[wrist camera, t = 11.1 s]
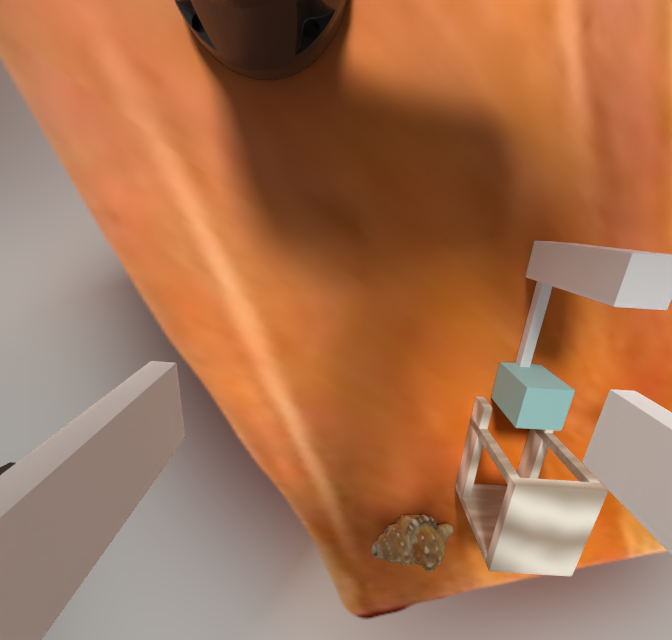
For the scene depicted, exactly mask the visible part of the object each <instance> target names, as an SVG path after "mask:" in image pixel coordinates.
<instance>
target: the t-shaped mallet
mask: <svg viewBox="0 0 672 640" xmlns="http://www.w3.org/2000/svg"><path fill="white" fill-rule="evenodd" d="M525 277H526V278H529V279H532V280H535V281H537V283H536V287H535V291H534V294H533V298H532V302H531V306H530V309H529V313H528V317H527V321H526V324H525V328H524V332H523V336H522V340H521V343H520V347H519V351H518V355H517V358H516V362H515V363H508V362H500V363H499V367H498V371H497V375H496V379H495V383H494V387H493V391H492V395H491V398H492V399H493V401H494V402H495V403H496V404H497V406H498V407H499V408H500V409H501V411H502V412H503V413H504V414H505V415H506V417H507V418H508V419H509V420H510V422H511V423H512V424H513V425H514V426H515V428H526V429H542V430H558V431H562V428H563V425H564V422H565V419H566V416H567V413H568V410H569V407H570V404H571V401H572V398H573V396H574V393H575V390H574V389H572V388H571V387H570V386H568V385H567V384H566V383H564V382H563V381H562V380H560V379H559V378H558V377H556V376H555V375H554V374H553V373H551V372H550V371H549V370H547V369H546V368H545V367H543V366H542V365H540V364H531V361H532V358H533V354H534V350H535V347H536V343H537V340H538V336H539V333H540V329H541V326H542V322H543V319H544V315H545V312H546V308H547V305H548V301H549V298H550V294H551V290H552V287H556V288H559V289H562V290H565V291H568V292H571V293H574V294H577V295H580V296H583V297H586V298H589V299H592V300H595V301H598V302H601V303H604V304H607V305H610V306H612V307H624V308H640V309H656V310H667V308H668V306H669V304H670V301H671V299H672V254H665V253H656V252H648V251H639V250H630V249H622V248H613V247H605V246H596V245H588V244H579V243H569V242H553V241H537V240H535V241H534V245H533V249H532V253H531V257H530V261H529V265H528V269H527V273H526V276H525Z"/></svg>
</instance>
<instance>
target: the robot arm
mask: <svg viewBox="0 0 672 640" xmlns="http://www.w3.org/2000/svg"><path fill="white" fill-rule="evenodd" d="M346 2H347V0H175V3H176V5H177V7H178V9H179V11H180V13H181V15H182V16H183V18H184V20H185V22H186V23H187V25H188V26H189V28H190V29H191V30H192V32H193V33H194V34H195V36H196V37H197V38H198V39H199V41H200V42H201V43H202V44H203V46H204V47H205V48H206V49H207V50H208V51H209V52H210V53H211V54H212V56H214V57H215V58H216V59H217V60H218V61H219V62H221V63H222V64H223V65H225V66H226V67H228V68H229V69H231V70H233V71H235V72H237V73H239V74H241V75H244V76H247V77H250V78H255V79H262V80H272V79H280V78H284V77H288V76H291V75H293V74H296V73H298V72H300V71H301V70H303V69H305V68H306V67H308V66H309V65H310V64H312V63H313V62H314V61H315V60H316V59H317V58H318V57H319V56H320V55H321V54H322V53H323V52H324V50H325V49H326V48H327V47H328V45H329V44H330V42H331V41H332V39H333V37H334V35H335V34H336V31H337V29H338V27H339V25H340V22H341V20H342V17H343V14H344V10H345V7H346ZM184 439H185V434H184V425H183V417H182V408H181V399H180V391H179V382H178V373H177V365H176V363H173V362H156V361H151V362H149V363H148V364H147V365H145V366H144V367H143V368H141V369H140V370H139V371H137V372H136V373H135V374H133V375H132V376H131V377H129V378H128V379H127V380H125V381H124V382H123V383H122V384H120V385H119V386H118V387H116V388H115V389H114V390H113V391H111V392H110V393H108V394H107V395H106V396H104V397H103V398H102V399H100V400H99V401H98V402H96V403H95V404H94V405H92V406H91V407H90V408H89V409H87V410H86V411H85V412H83V413H82V414H81V415H79V416H78V417H77V418H75V419H74V420H73V421H71V422H70V423H69V424H67V425H66V426H65V427H63V428H62V429H61V430H59V431H58V432H57V433H55V434H54V435H53V436H51V437H50V438H49V439H47V440H46V441H45V442H44V443H42V444H41V445H40V446H38V447H37V448H36V449H34V450H33V451H32V452H30V453H29V454H28V455H26V456H25V457H24V458H22V459H21V460H20V461H18V462H17V463H11V462H10V463H8V464H6V465H4V466H2V467H0V640H42V638H43V637H44V636H45V634H46V633H47V631H48V630H49V628H50V627H51V626H52V624H53V623H54V621H55V620H56V619H57V617H58V616H59V614H60V613H61V612H62V610H63V609H64V607H65V606H66V605H67V603H68V602H69V600H70V599H71V597H72V596H73V595H74V593H75V592H76V590H77V589H78V588H79V586H80V585H81V584H82V582H83V581H84V579H85V578H86V577H87V575H88V574H89V572H90V571H91V569H92V568H93V567H94V565H95V564H96V562H97V561H98V560H99V558H100V557H101V555H102V554H103V553H104V551H105V550H106V548H107V547H108V546H109V544H110V543H111V541H112V540H113V539H114V537H115V536H116V534H117V533H118V532H119V530H120V529H121V527H122V526H123V524H124V523H125V522H126V520H127V519H128V517H129V516H130V515H131V513H132V512H133V510H134V509H135V508H136V506H137V505H138V503H139V502H140V501H141V499H142V498H143V496H144V495H145V493H146V492H147V491H148V489H149V488H150V486H151V485H152V484H153V482H154V481H155V480H156V478H157V477H158V475H159V474H160V473H161V471H162V470H163V468H164V467H165V465H166V464H167V463H168V461H169V460H170V458H171V457H172V456H173V454H174V453H175V451H176V450H177V449H178V447H179V446H180V444H181V443H182V442H183V440H184ZM582 463H583V464H584V465H585V466H586V467H587V468H588V469H589V470H590V471H591V472H592V473H593V475H594V476H595V477H596V478H597V479H598V480H599V481H600V482H601V483H602V484H603V485H604V486H605V487H606V488H607V489H608V490H609V491H610V492H611V493H612V494H613V495H614V496H615V497H616V498H617V499H618V500H619V501H620V502H621V503H622V504H623V506H624V507H625V508H626V509H627V510H628V511H629V512H630V513H631V514H632V515H633V516H634V517H635V518H636V519H637V520H638V521H639V522H640V523H641V524H642V525H643V526H644V527H645V528H646V529H647V530H648V531H649V532H650V533H651V534H652V535H653V536H654V538H655V539H656V540H657V541H658V542H659V543H660V544H661V545H662V546H663V547H664V548H665V549H666V550H667V551H668V552H669V553H670V554H671V555H672V413H671V412H670V411H668V410H666V409H665V408H663V407H661V406H660V405H658V404H656V403H655V402H653V401H651V400H650V399H648V398H646V397H645V396H643V395H641V394H640V393H638V392H636V391H628V390H611V389H610V391H609V394H608V396H607V399H606V401H605V404H604V407H603V409H602V412H601V415H600V417H599V420H598V422H597V425H596V428H595V430H594V433H593V436H592V438H591V441H590V443H589V446H588V449H587V451H586V454H585V456H584V459H583V462H582Z"/></svg>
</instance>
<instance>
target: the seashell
mask: <svg viewBox="0 0 672 640" xmlns="http://www.w3.org/2000/svg"><path fill="white" fill-rule="evenodd" d="M452 534H453V528H452V526H451V525H450V524H447V523H444V524H439V525H437V524H436V522H435V520H434V519H433V518H432V517H431V516H428V515H421V516H420V515H414V514H412V515H404V514H403V515H401V516H400V518H398V519H396V521H395V524H391V525H388V526H387V528H386V529H385V531H384V532H383V534H380V535H379V536H378V538H377V540H376V541H374V542H373V544H372V547H371V552H372V554H373V555H374V556H375V557H378V558H379V559H386V560H388V561H389V562H396V561H398V562H399V563H401V564H402V565H406V566H407V565H409V564H414V563H416V564H419V565H421V566H423V568H425V570H426V571H427V572H432V571H433V570H434V569H435V567H436V566H439V565H440V563H441V560H442V559H443V556H444V551H445V545H446V541H447V539H448V538H449V537H450V536H451V535H452Z"/></svg>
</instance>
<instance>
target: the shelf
mask: <svg viewBox="0 0 672 640" xmlns="http://www.w3.org/2000/svg"><path fill="white" fill-rule="evenodd" d="M492 409H493V408H492V407H491V406H490V404H489V403H488V402H487V400H486V399H485V398H484V397H479V396H476V398H475V402H474V406H473V411H472V415H471V420H470V424H469V428H468V433H467V437H466V441H465V446H464V450H463V455H462V459H461V463H460V468H459V472H458V476H457V481H456V485H455V489H456V492H457V494H458V497H459V499H460V502H461V504H462V506H463V509H464V511H465V514H466V516H467V519H468V521H469V523H470V526H471V528H472V531H473V533H474V536H475V538H476V540H477V543H478V545H479V548H480V550H481V553H482V555H483V557H484V560H485V562H486V565H487V567H488V570H489V571H494V572H510V573H526V574H542V575H558V576H572V574H573V572H574V570H575V568H576V565H577V563H578V561H579V558H580V556H581V554H582V551H583V549H584V547H585V544H586V542H587V540H588V537H589V535H590V533H591V530H592V528H593V526H594V523H595V521H596V519H597V516H598V514H599V512H600V509H601V507H602V505H603V502H604V500H605V498H606V495H607V493H608V490H607V489H606V488H605V487H604V486H603V485H602V484H601V483H600V482H599V481H598V480H597V479H596V478H595V477H594V476H593V475H592V474H591V473H590V472H589V471H588V470H587V468H586V467H585V466H584V465H583V464H582V463H581V462H580V461H579V460H578V459H577V458H576V457H575V456H574V455H573V454H572V453H571V452H570V451H569V450H568V449H567V448H566V447H565V446H564V445H563V444H562V443H561V441H560V440H559V439H558V438H557V437H556V436H555V435H554V434H553V430H542V429H530V431H529V434H528V437H527V440H526V444H525V447H524V450H523V454H522V457H521V460H520V464H519V467H518V470H517V472H516V471H515V469H514V468H513V466H512V465H511V463H510V462H509V460H508V459H507V458H506V456H505V455H504V453H503V452H502V450H501V449H500V447H499V446H498V444H497V443H496V441H495V440H494V438H493V437H492V435H491V434H490V432H489V431H488V425H489V421H490V417H491V413H492ZM483 445H484V447H485V448H486V450H487V452H488V453H489V455H490V457H491V458H492V460H493V461H494V463H495V465H496V466H497V468H498V470H499V471H500V473H501V475H502V476H503V478H504V479H505V481H506V483H507V484H508V486H506V485H490V484H474V480H475V476H476V472H477V468H478V464H479V460H480V456H481V452H482V448H483ZM548 447H549V448H550V449H551V450H552V451H553V452H554V453H555V454H556V456H557V457H558V458H559V459H560V460H561V461H562V462H563V463H564V464H565V466H566V467H567V468H568V469H569V470H570V471H571V472H572V473H573V475H574V476H575V477H576V478H577V479H578V480H579V481H564V480H548V479H538V476H539V473H540V469H541V466H542V463H543V460H544V457H545V454H546V451H547V448H548Z"/></svg>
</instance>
